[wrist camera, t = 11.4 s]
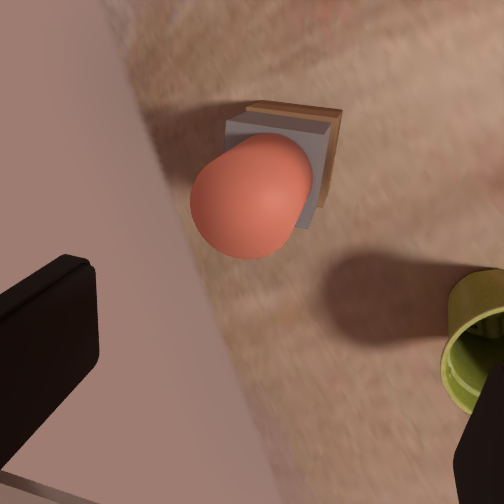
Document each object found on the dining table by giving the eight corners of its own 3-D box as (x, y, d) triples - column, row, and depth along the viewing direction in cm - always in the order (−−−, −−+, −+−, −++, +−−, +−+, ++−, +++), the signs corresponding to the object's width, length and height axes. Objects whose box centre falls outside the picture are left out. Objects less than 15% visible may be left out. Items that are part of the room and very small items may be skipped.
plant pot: (587, 287, 33) (651, 357, 26) (501, 371, 38) (534, 452, 30) (476, 226, 34) (506, 276, 26) (403, 316, 38) (410, 382, 30)
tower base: (263, 100, 34) (246, 106, 29) (342, 109, 33) (337, 118, 28) (255, 177, 36) (238, 194, 32) (329, 188, 35) (322, 207, 31)
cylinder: (231, 126, 25) (192, 146, 20) (319, 139, 24) (303, 163, 19) (224, 210, 27) (188, 248, 22) (305, 225, 26) (288, 268, 21)
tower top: (248, 110, 30) (226, 120, 25) (331, 122, 29) (323, 134, 24) (240, 190, 32) (218, 212, 27) (317, 204, 31) (307, 229, 26)
